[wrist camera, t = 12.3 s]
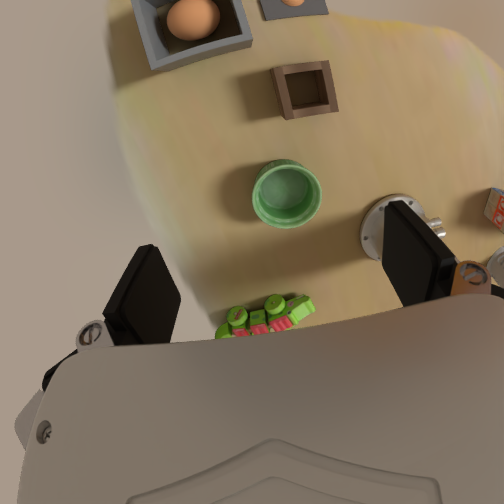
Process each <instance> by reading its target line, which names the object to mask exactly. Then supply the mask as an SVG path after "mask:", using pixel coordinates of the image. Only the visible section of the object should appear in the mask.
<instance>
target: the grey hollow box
mask: <svg viewBox="0 0 504 504" xmlns="http://www.w3.org/2000/svg"><path fill="white" fill-rule="evenodd" d="M173 1H176V0H131V3H132V7H133V10H134V14H135V17H136V21H137V24H138V28H139V31H140V35H141V38H142V41H143V45H144V48H145V51H146V55H147V58H148V61H149V64H150V68H151V70H157V71H170V70H173V69H176V68H179V67H182V66H184V65H187V64H190V63H194V62H197V61H200V60H203V59H206V58H210V57H213V56H217V55H221V54H224V53H228V52H232V51H236V50H241V49H245V48H250V47H251V45H252V41H253V38H252V34H251V31H250V27H249V24H248V21H247V18H246V14H245V11H244V8H243V5H242V2H241V0H230V2H231V5H232V8H233V12H234V15H235V18H236V21H237V25H238V28H239V31H240V34H241V35H237V36H233V37H229V38H225V39H221V40H217V41H213V42H210V43H206V44H203V45H200V46H197V47H193V48H190V49H187V50H184V51H181V52H179V53H176V54H173V55H170V54H169V51H168V47H167V44H166V41H165V37H164V34H163V31H162V27H161V24H160V21H159V17H158V14H157V11H156V8H157V7H160V6H162V5H165V4H168V3H170V2H173Z"/></svg>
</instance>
